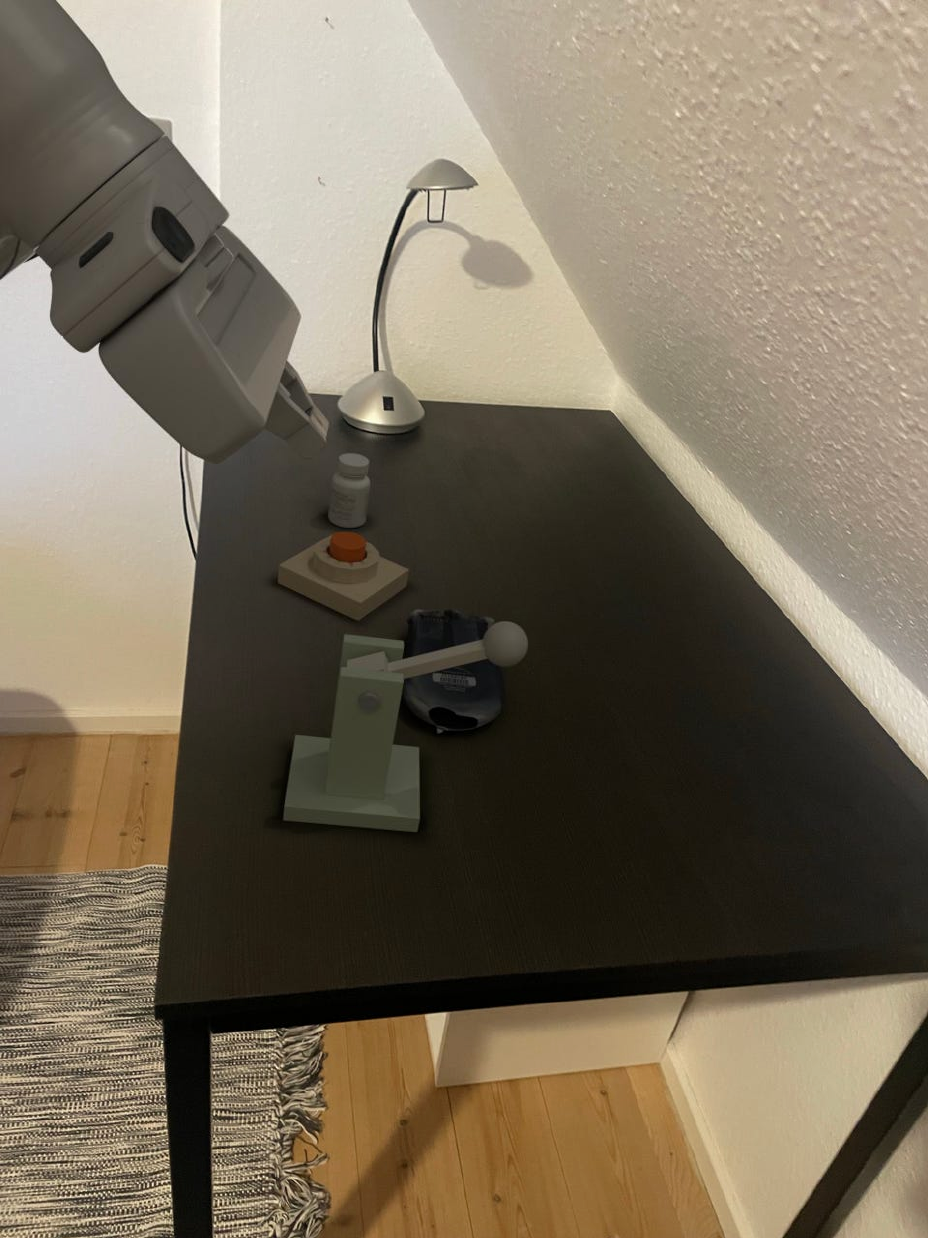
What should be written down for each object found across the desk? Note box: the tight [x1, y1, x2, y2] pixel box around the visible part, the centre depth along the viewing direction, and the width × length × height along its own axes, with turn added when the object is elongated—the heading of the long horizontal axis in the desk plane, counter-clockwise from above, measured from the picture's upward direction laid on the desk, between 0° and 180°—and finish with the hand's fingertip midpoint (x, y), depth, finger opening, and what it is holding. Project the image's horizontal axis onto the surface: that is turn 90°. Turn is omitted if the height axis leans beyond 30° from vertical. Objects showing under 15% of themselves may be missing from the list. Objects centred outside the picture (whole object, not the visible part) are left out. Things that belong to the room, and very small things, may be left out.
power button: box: [329, 531, 367, 563], centre depth 96 cm, size 4×4×2 cm
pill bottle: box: [327, 452, 371, 529], centre depth 108 cm, size 4×4×8 cm
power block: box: [277, 534, 410, 622], centre depth 97 cm, size 10×9×4 cm
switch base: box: [282, 633, 421, 833], centre depth 70 cm, size 10×8×13 cm
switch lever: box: [347, 620, 529, 679], centre depth 67 cm, size 13×3×3 cm, turn 94°
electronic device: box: [402, 608, 506, 734], centre depth 86 cm, size 9×6×15 cm
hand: (319, 444), depth 55 cm, fingers closed
